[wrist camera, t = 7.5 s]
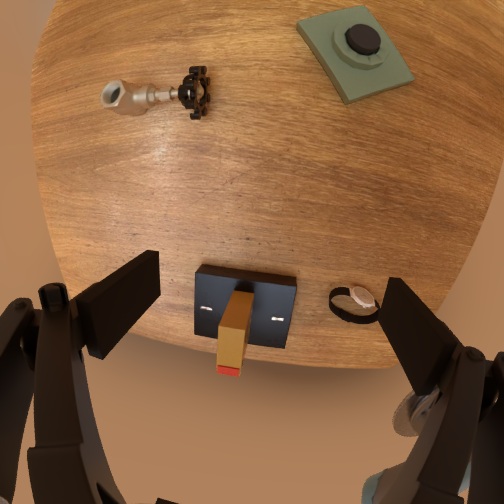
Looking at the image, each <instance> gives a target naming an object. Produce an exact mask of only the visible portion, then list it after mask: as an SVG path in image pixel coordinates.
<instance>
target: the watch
mask: <svg viewBox="0 0 504 504" xmlns="http://www.w3.org/2000/svg"><path fill="white" fill-rule="evenodd" d="M336 295H347V296H350V297H353V299H354V300H355V301H356V302H357V303H359V304H360V305H362V306H363V308H365V307H371V306H374V307H377V308H378V310H377V311H376V312H375V313H373V314H371V315H367V316H358V315H353V314H351V313H348V312H346V311H344V310H342V309H339V308H337V307H336V306H335V305H333V303H332V302H331V299H332V298H333V297H334V296H336ZM329 307H330V309H331V311H332V312H333V313H334V314H335V315H337V316H338V317H339V318H341V319H342V320H345V321H347V322H353V323H357V324H370V323H373V322H376V321H377V318H378V315H379V312H380V306H379V303H378V302H377V301H376V300H375V299H374V298H373V296H372V295H371V294H370V293H369V292H368V291H367V290H366V289H364V288H362V287H359V286H356V287H354V288H352V289H351V288H346V287H338V288H335V289H333V290H332V291H331V292H330V295H329Z"/></svg>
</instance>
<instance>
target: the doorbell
mask: <svg viewBox="0 0 504 504" xmlns="http://www.w3.org/2000/svg"><path fill="white" fill-rule="evenodd" d="M355 24H365V25H368V26H370V27H372V28H373V29H375V30H376V31H377V32H378V34H379V35H380V38H381V44H380V46H379V47H378V48H377V50H376V51H375V52H374V53H372V54H369V55H364V54H360V53H357V52H356V51H354V50H353V49H352V48H351V47H350V46H349V45H348V43H347V34H348V32H349V30H350V28H351V27H352V26H353V25H355ZM297 31H298V32H299V34H300V35H301V36H302V38H303V39H304V40H305V42H306V43H307V45H308V46H309V47H310V49H311V50H312V52H313V53H314V55H315V56H316V58H317V59H318V61H319V62H320V64H321V65H322V67H323V68H324V70H325V72H326V73H327V75H328V76H329V78H330V80H331V81H332V83H333V85H334V86H335V88H336V90H337V91H338V93H339V95H340V97H341V98H342V100H343V102H344V104H345V105H348V104H350V103H353V102H356V101H358V100H361V99H364V98H367V97H370V96H372V95H375V94H378V93H381V92H384V91H387V90H390V89H394V88H397V87H400V86H403V85H407V84H409V83H411V82H412V81H414V80H415V78H414V76H413V75H412V73H411V71H410V69H409V68H408V66H407V64H406V63H405V61H404V59H403V58H402V56H401V55H400V53H399V52H398V50H397V48H396V47H395V45H394V44H393V42H392V41H391V40H390V38H389V37H388V35H387V34H386V32H385V31H384V30H383V28H382V27H381V26H380V24H379V23H378V22H377V20H376V19H375V18H374V16H373V15H372V14H371V13H370V11H369V10H368V9H367V8H366V7H365V5H362V6H356V7H351V8H346V9H342V10H337V11H333V12H329V13H325V14H321V15H317V16H314V17H310V18H307V19H304V20H301V21H297Z"/></svg>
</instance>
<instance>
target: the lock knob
mask: <svg viewBox="0 0 504 504" xmlns="http://www.w3.org/2000/svg"><path fill="white" fill-rule="evenodd" d="M253 301H254V293H248V292H241V291H235V290H233V293H232V295H231V297H230V300H229V302H228V305H227V307H226V309H225V312H224V314H223V317H222V319H221V321H220V324H219V326H218V346H217V368H216V369H217V370H216V372H217V373H220V374H226V375H231V376H237V377H238V376H240V375H241V370H242V366H243V361H244V357H245V352H246V348H247V343H248V339H249V334H250V326H251V317H252V309H253Z"/></svg>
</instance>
